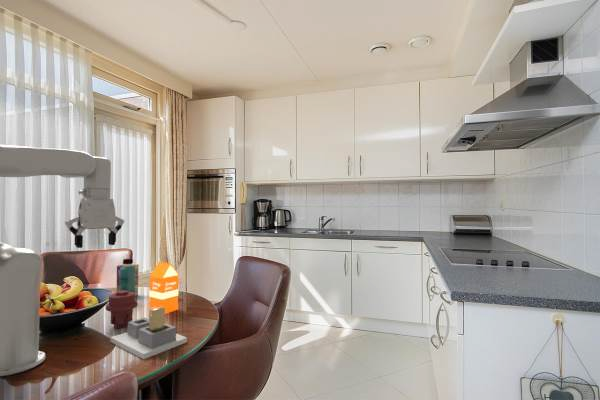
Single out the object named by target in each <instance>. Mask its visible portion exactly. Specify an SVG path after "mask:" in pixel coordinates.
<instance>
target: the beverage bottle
mask: <svg viewBox="0 0 600 400" xmlns="http://www.w3.org/2000/svg"><path fill="white" fill-rule="evenodd" d="M122 264H134V259H133V258H124V259H122ZM119 279H120V280H119V281H120V284H119V291H123V290H127V291H128V292H134V293H135V267H134V266H123V267H122V268H121V269H120V278H119Z"/></svg>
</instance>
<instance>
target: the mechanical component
mask: <svg viewBox="0 0 600 400" xmlns="http://www.w3.org/2000/svg"><path fill="white" fill-rule="evenodd" d="M136 307H138V300H136V296H135V293H134V292H128V291H127V290H123V291H118V292H114V293H112V294H110V295H108V303H107V304H106V305H105V310H106V311H108V312H110V325H113V329H114V330H117V329H119V328H124V327H128V322H131V321H134V320H133V311H134V310H133V309H135V308H136Z"/></svg>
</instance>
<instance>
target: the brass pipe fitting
mask: <svg viewBox="0 0 600 400" xmlns="http://www.w3.org/2000/svg"><path fill="white" fill-rule="evenodd" d="M148 311H149V310H148ZM165 316H166V313H165V307H153V308H150V311H149V316H148V319H149V331H150V332H153V333H155V332H158V331H161V330H164V328H165V323H166V322H165V320H166V317H165Z"/></svg>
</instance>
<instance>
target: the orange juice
mask: <svg viewBox="0 0 600 400" xmlns="http://www.w3.org/2000/svg"><path fill="white" fill-rule="evenodd" d="M148 292H149V310H148V311H150V308H153V307H165V314H168V313H170V312H174V311H177V310H179V273H178V272H177V270H176V269H175V267H174V266H173V265H172V263H170V262H163V261H158V262H157V264H156V265H155V268H154V269H153V270H152V272H151V274H150V275H149V291H148Z"/></svg>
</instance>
